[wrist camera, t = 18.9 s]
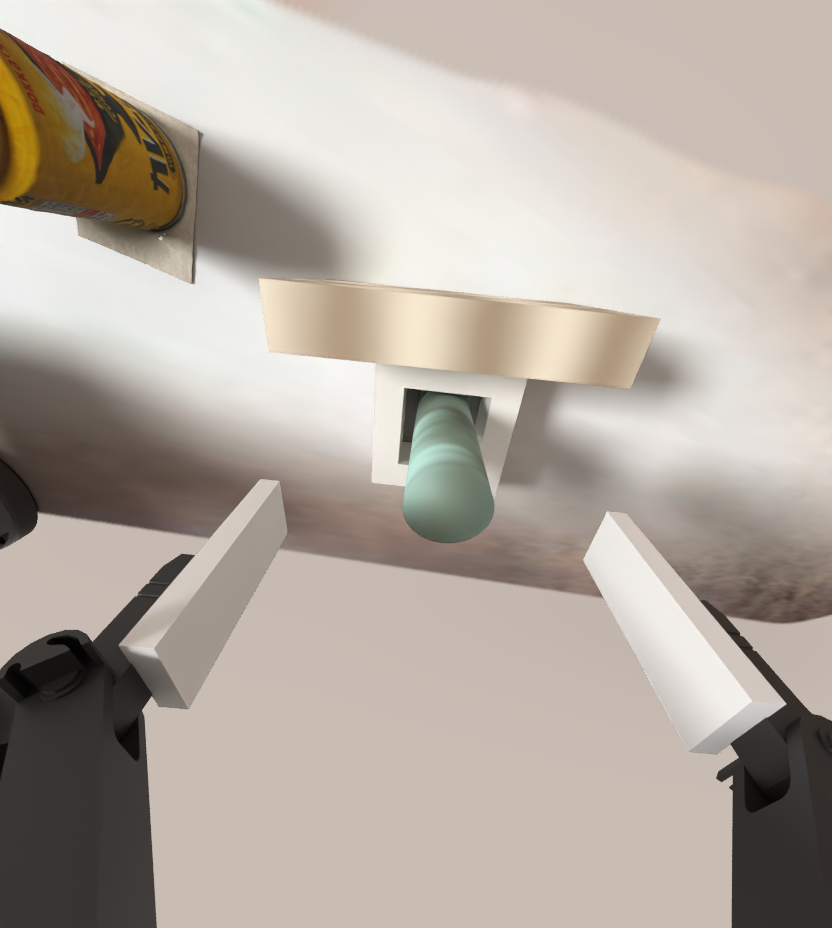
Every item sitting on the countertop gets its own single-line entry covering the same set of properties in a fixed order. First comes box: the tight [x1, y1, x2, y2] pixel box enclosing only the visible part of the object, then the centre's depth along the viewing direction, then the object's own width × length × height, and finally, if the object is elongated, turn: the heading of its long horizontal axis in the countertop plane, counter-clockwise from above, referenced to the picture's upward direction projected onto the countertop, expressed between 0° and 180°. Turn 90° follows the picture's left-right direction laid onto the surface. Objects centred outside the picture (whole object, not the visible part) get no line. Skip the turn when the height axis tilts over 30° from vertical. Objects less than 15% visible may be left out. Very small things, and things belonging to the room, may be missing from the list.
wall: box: [259, 278, 660, 389], centre depth 18 cm, size 17×3×10 cm, turn 85°
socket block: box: [372, 363, 528, 496], centre depth 25 cm, size 10×10×4 cm
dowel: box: [403, 390, 494, 543], centre depth 20 cm, size 4×4×14 cm
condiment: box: [0, 29, 199, 284], centre depth 15 cm, size 7×8×12 cm
